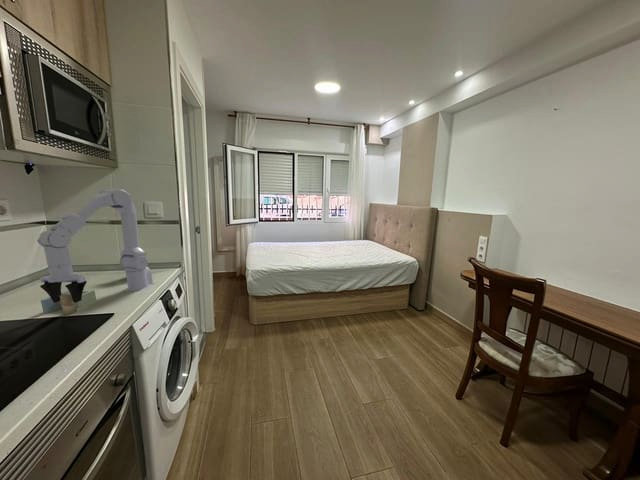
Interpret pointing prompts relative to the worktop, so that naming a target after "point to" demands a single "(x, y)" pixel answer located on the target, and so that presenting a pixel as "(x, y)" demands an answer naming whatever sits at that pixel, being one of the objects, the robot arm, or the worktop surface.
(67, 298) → the dowel
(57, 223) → the robot arm
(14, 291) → the worktop surface
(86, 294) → the socket block
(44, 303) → the backstop wall
